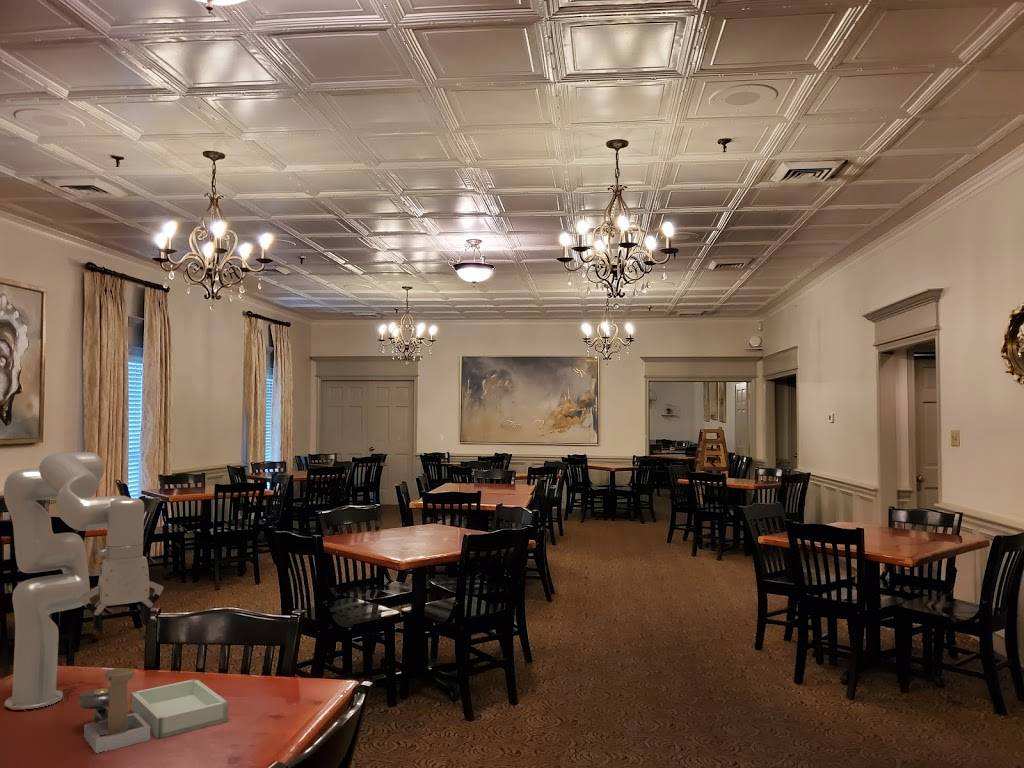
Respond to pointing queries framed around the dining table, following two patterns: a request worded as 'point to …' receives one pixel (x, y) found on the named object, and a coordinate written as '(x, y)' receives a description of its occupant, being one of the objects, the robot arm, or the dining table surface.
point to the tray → (179, 707)
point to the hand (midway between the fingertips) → (121, 627)
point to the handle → (118, 698)
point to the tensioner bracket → (92, 731)
